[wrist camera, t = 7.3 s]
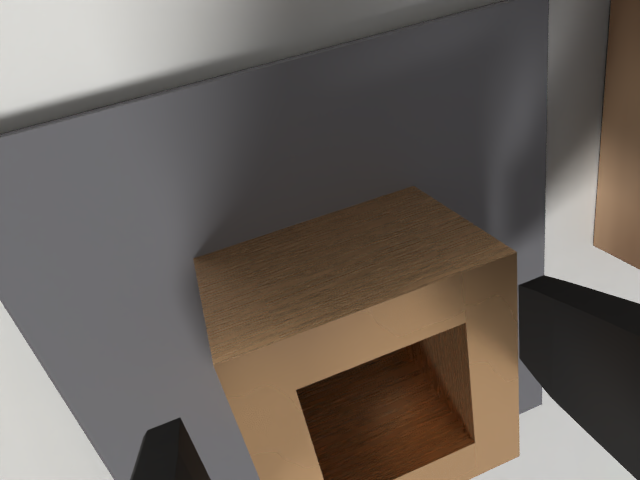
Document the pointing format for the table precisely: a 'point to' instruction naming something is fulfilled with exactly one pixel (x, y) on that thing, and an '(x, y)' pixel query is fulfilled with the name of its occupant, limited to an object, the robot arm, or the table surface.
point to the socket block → (620, 139)
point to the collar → (369, 343)
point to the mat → (254, 203)
